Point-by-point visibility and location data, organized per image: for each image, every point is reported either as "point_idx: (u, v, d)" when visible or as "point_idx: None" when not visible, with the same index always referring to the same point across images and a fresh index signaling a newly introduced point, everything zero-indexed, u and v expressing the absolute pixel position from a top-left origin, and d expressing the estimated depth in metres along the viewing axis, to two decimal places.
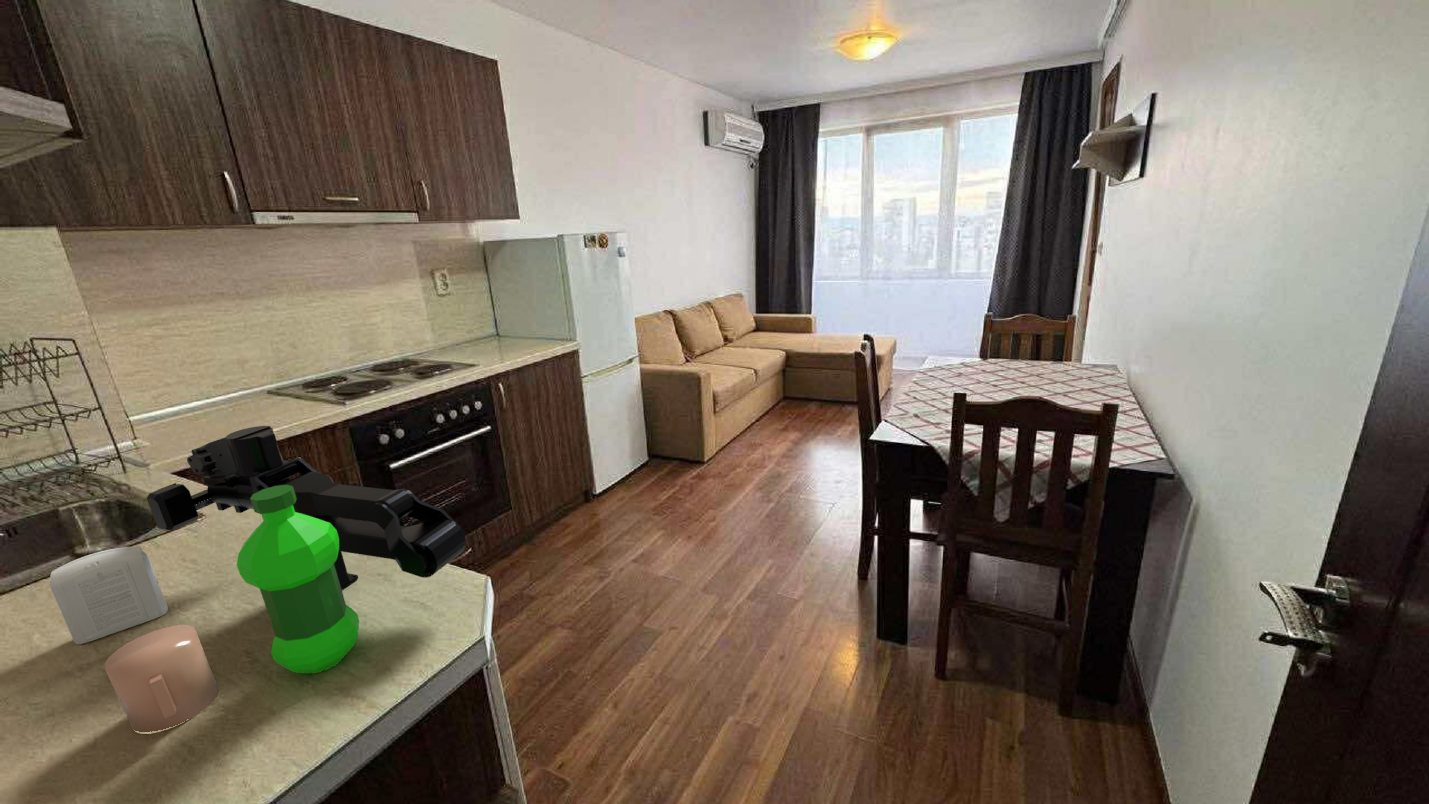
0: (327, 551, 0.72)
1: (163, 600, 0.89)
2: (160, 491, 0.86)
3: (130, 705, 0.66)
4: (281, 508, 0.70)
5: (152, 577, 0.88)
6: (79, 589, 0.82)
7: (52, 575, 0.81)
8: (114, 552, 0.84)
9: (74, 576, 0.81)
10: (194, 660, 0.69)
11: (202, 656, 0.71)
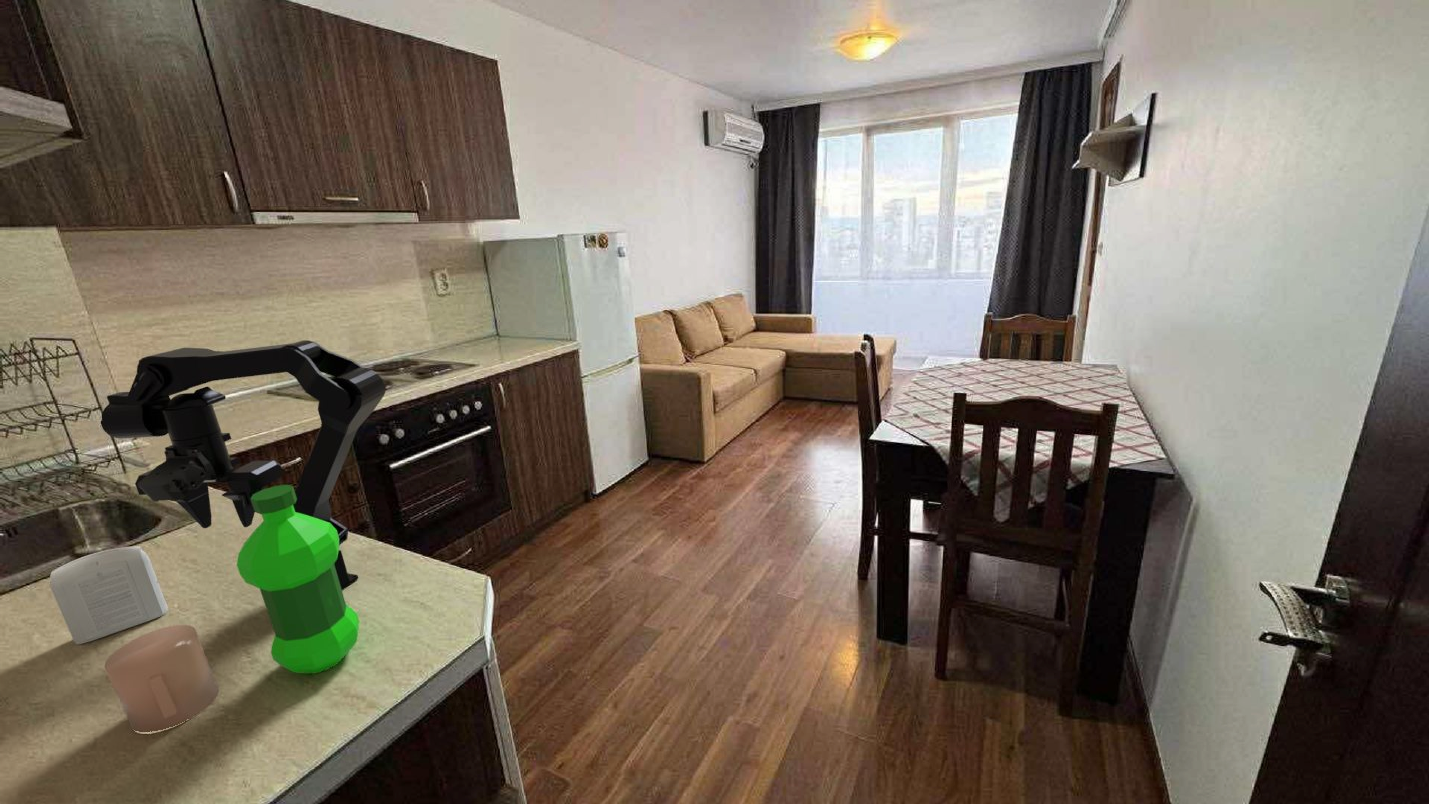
0: (327, 551, 0.72)
1: (163, 600, 0.89)
2: (244, 485, 0.85)
3: (130, 705, 0.66)
4: (281, 508, 0.70)
5: (152, 577, 0.88)
6: (79, 589, 0.82)
7: (52, 575, 0.81)
8: (114, 552, 0.84)
9: (74, 576, 0.81)
10: (194, 660, 0.69)
11: (202, 656, 0.71)
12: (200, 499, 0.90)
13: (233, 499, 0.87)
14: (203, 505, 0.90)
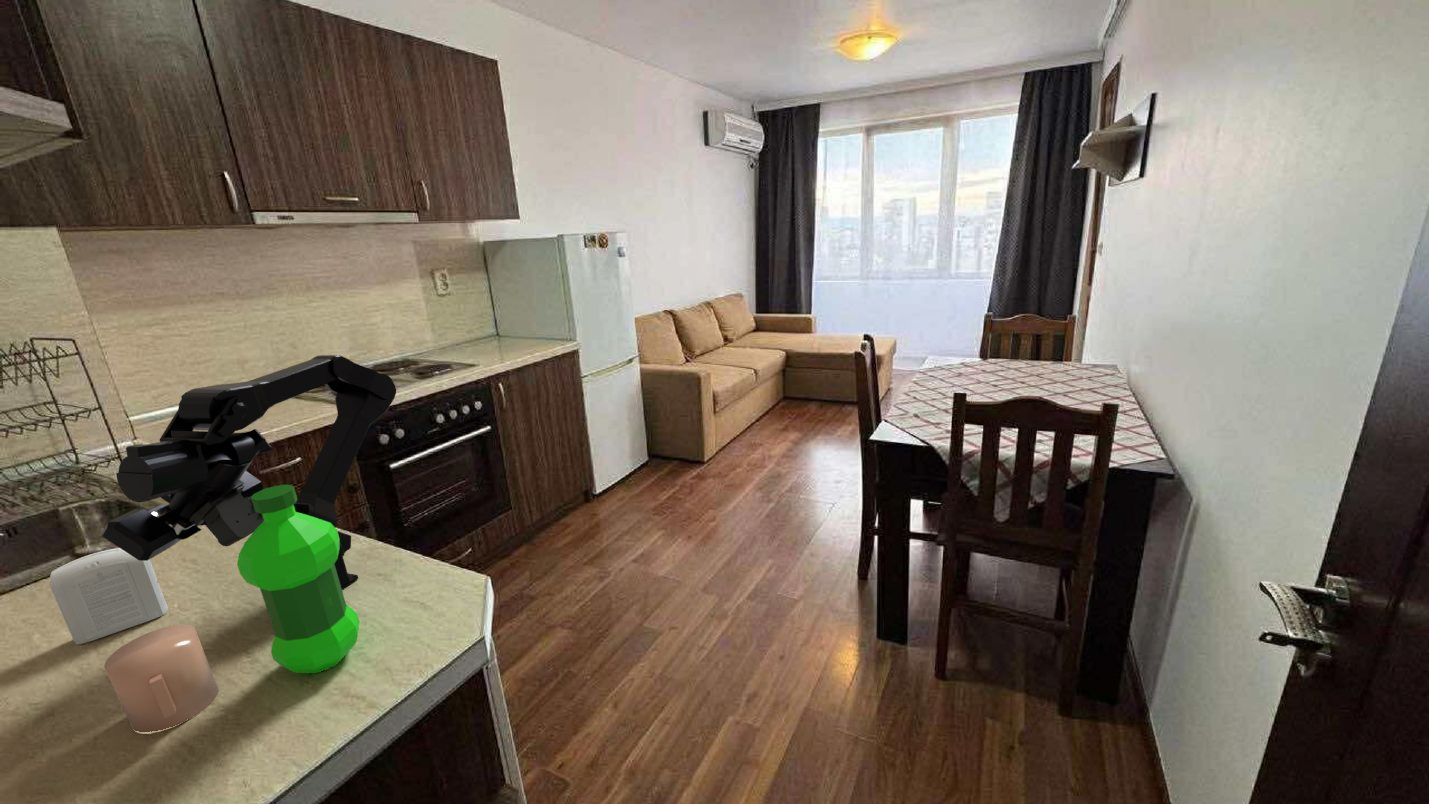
0: (327, 551, 0.72)
1: (163, 600, 0.89)
2: None
3: (130, 705, 0.66)
4: (282, 508, 0.70)
5: (152, 577, 0.88)
6: (79, 589, 0.82)
7: (52, 575, 0.81)
8: (114, 552, 0.84)
9: (74, 576, 0.81)
10: (194, 660, 0.69)
11: (202, 656, 0.71)
12: None
13: (201, 524, 0.83)
14: None
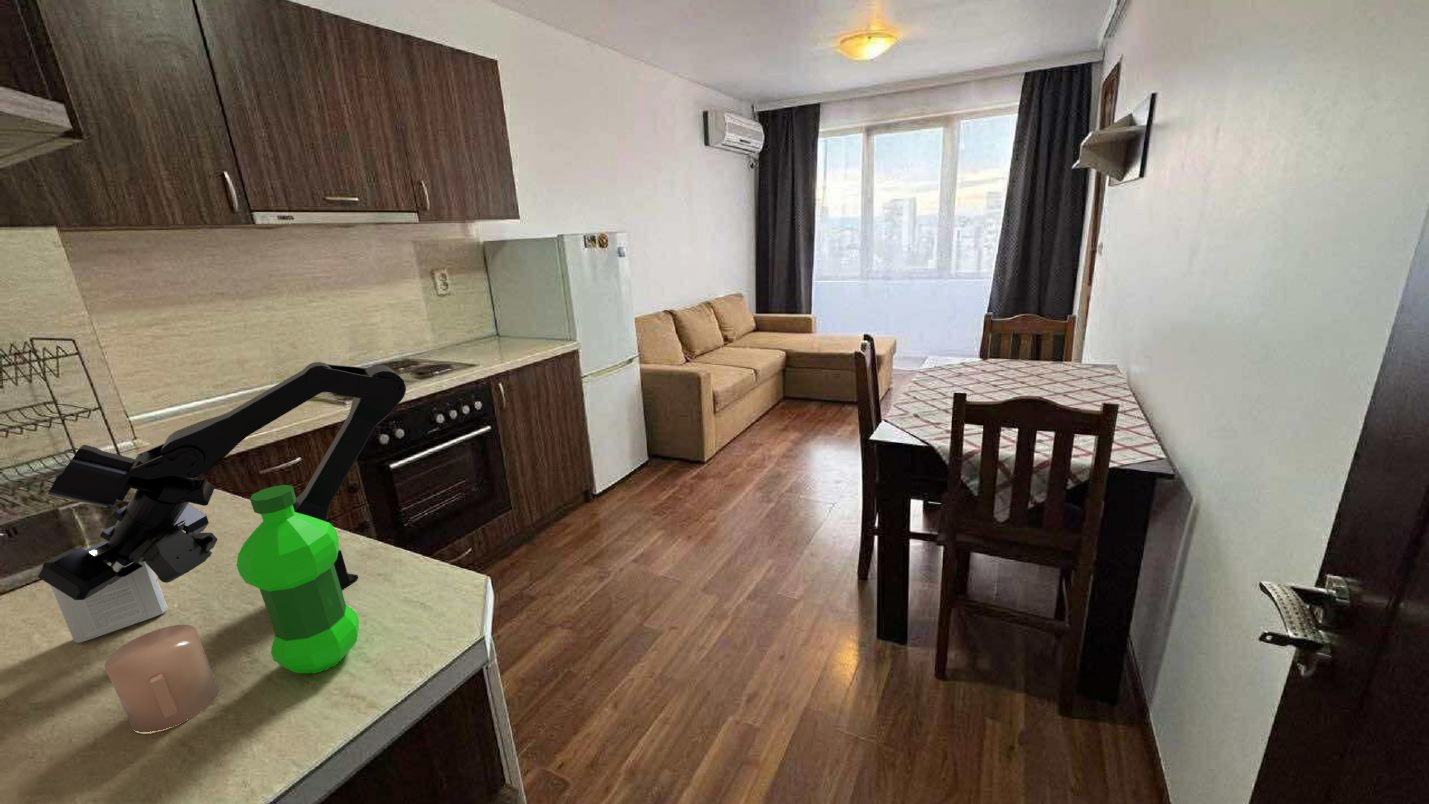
0: (326, 551, 0.72)
1: (162, 598, 0.90)
2: (202, 528, 0.90)
3: (131, 705, 0.66)
4: (281, 508, 0.70)
5: (151, 575, 0.88)
6: None
7: None
8: None
9: None
10: (194, 660, 0.70)
11: (202, 656, 0.71)
12: None
13: (143, 560, 0.84)
14: None
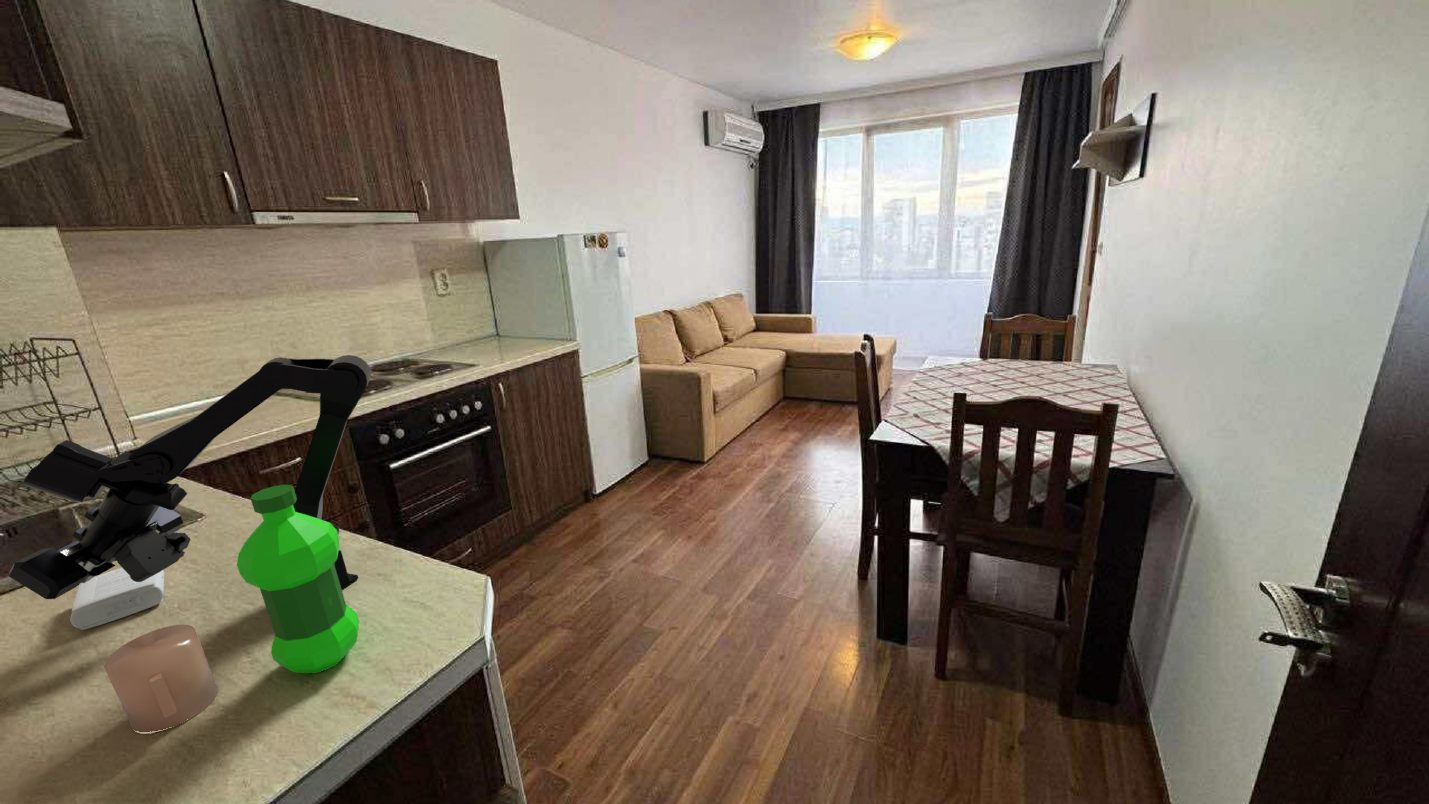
0: (327, 551, 0.72)
1: (161, 583, 0.93)
2: (176, 528, 0.91)
3: (130, 705, 0.66)
4: (281, 508, 0.70)
5: None
6: (96, 580, 0.92)
7: None
8: None
9: None
10: (193, 660, 0.69)
11: (201, 656, 0.71)
12: None
13: (116, 559, 0.85)
14: None
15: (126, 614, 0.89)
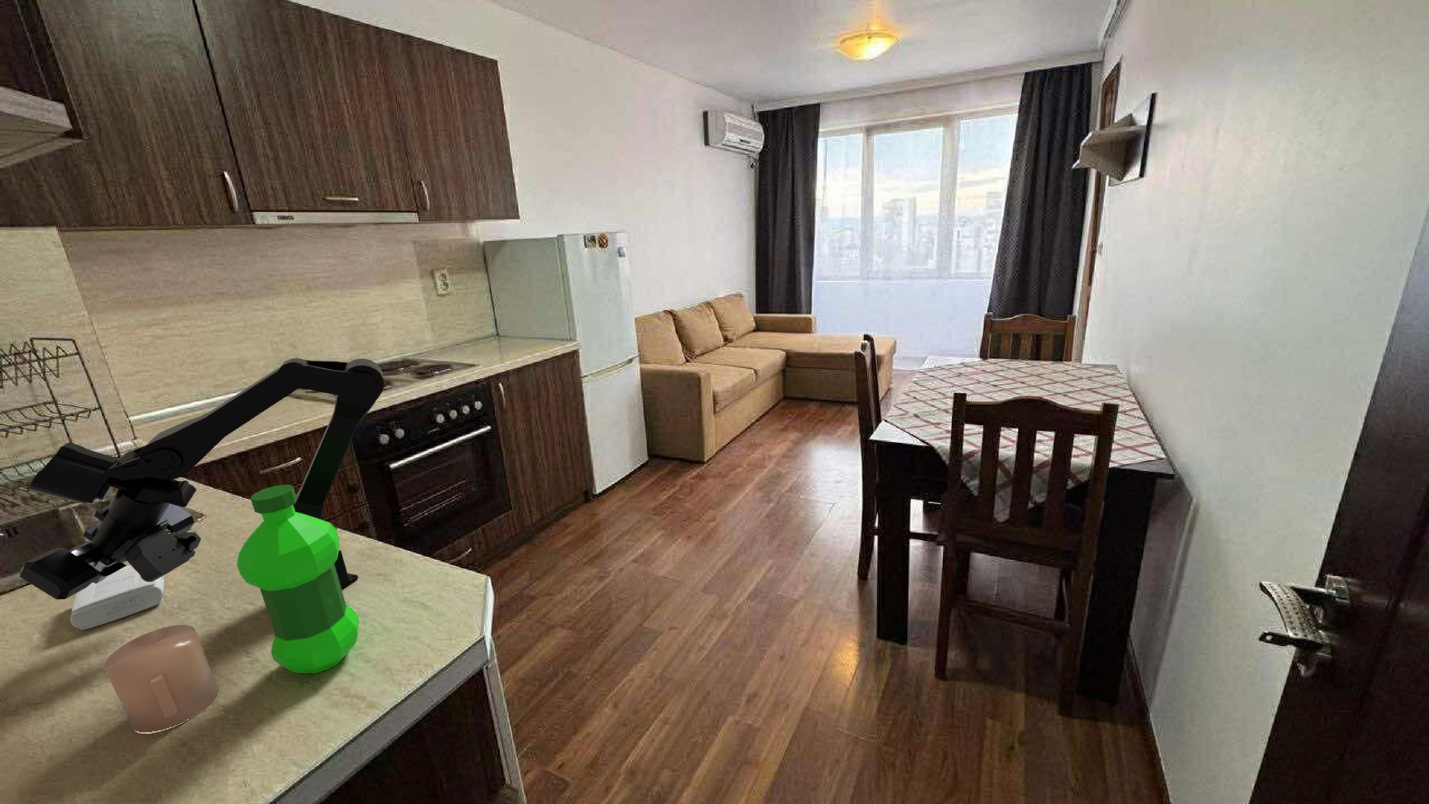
0: (327, 551, 0.72)
1: (161, 583, 0.93)
2: (188, 528, 0.90)
3: (131, 706, 0.66)
4: (281, 508, 0.70)
5: None
6: None
7: None
8: None
9: None
10: (194, 660, 0.69)
11: (202, 656, 0.71)
12: None
13: (128, 559, 0.84)
14: None
15: (126, 614, 0.89)
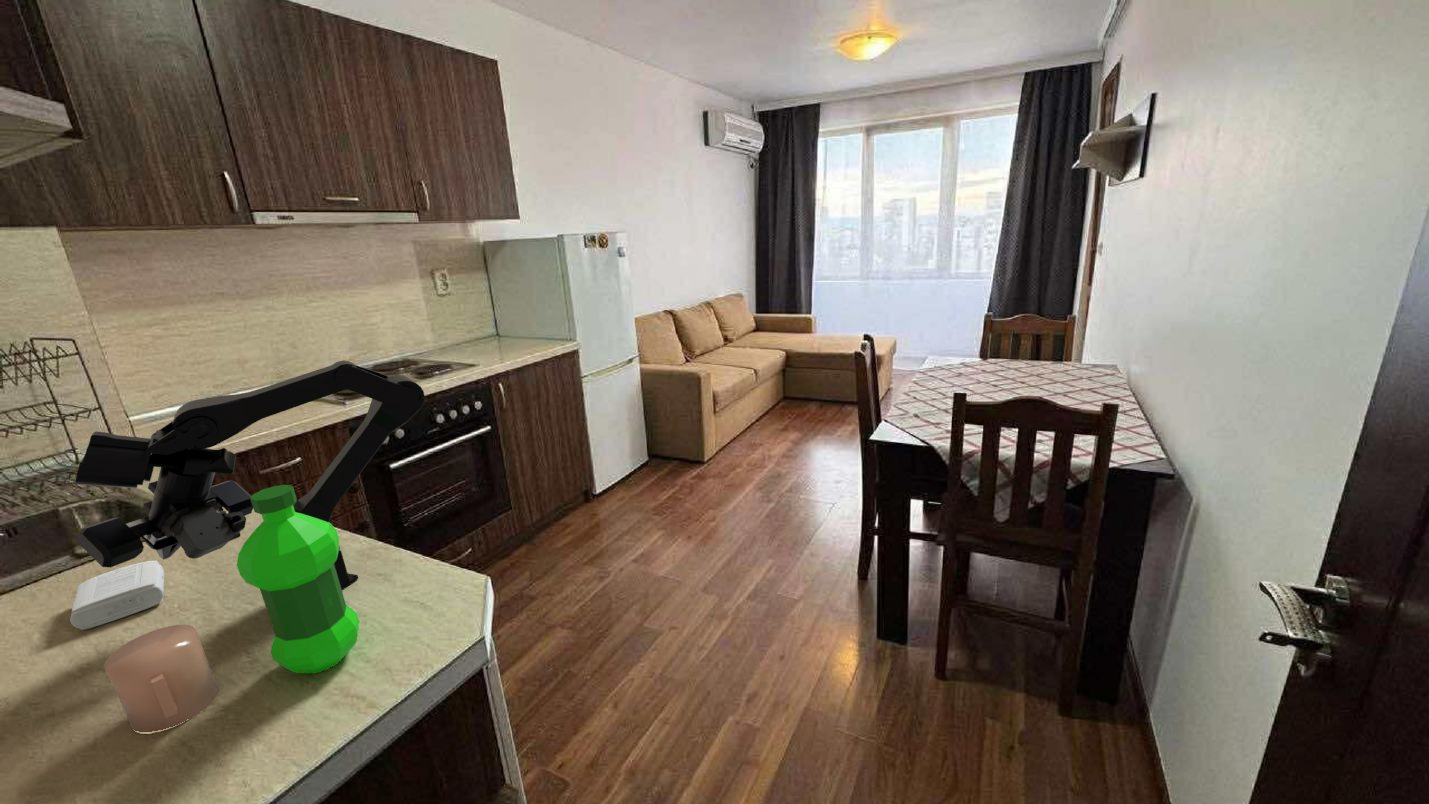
0: (327, 551, 0.72)
1: (161, 583, 0.93)
2: (247, 510, 0.91)
3: (131, 705, 0.66)
4: (281, 508, 0.70)
5: (158, 571, 0.95)
6: (96, 580, 0.92)
7: None
8: None
9: None
10: (194, 660, 0.69)
11: (202, 656, 0.71)
12: None
13: None
14: None
15: (126, 614, 0.89)
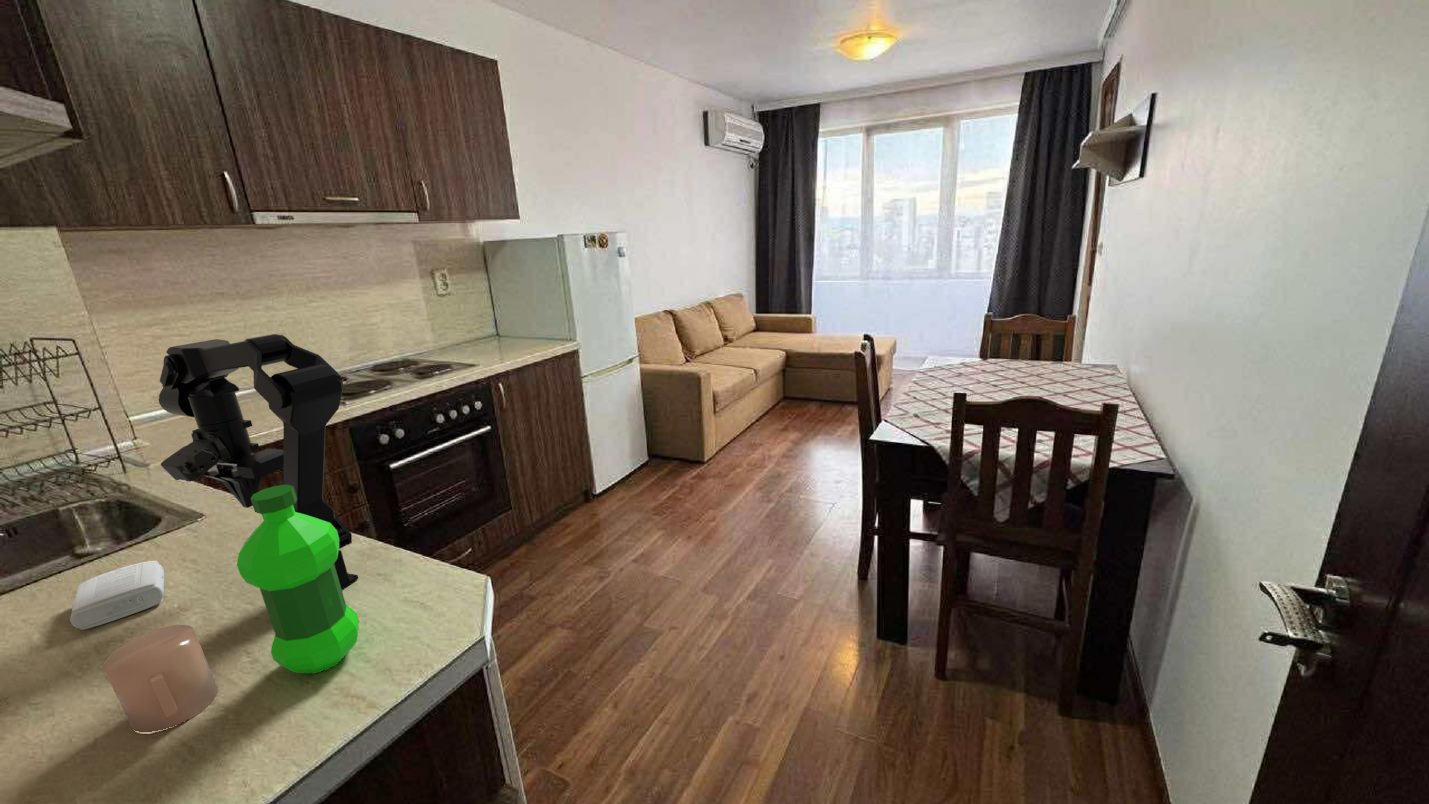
0: (327, 551, 0.72)
1: (161, 583, 0.93)
2: (249, 472, 0.89)
3: (131, 706, 0.66)
4: (281, 508, 0.70)
5: (158, 571, 0.95)
6: (96, 580, 0.92)
7: None
8: None
9: None
10: (193, 659, 0.70)
11: (201, 655, 0.71)
12: None
13: (232, 481, 0.93)
14: None
15: (126, 614, 0.89)
